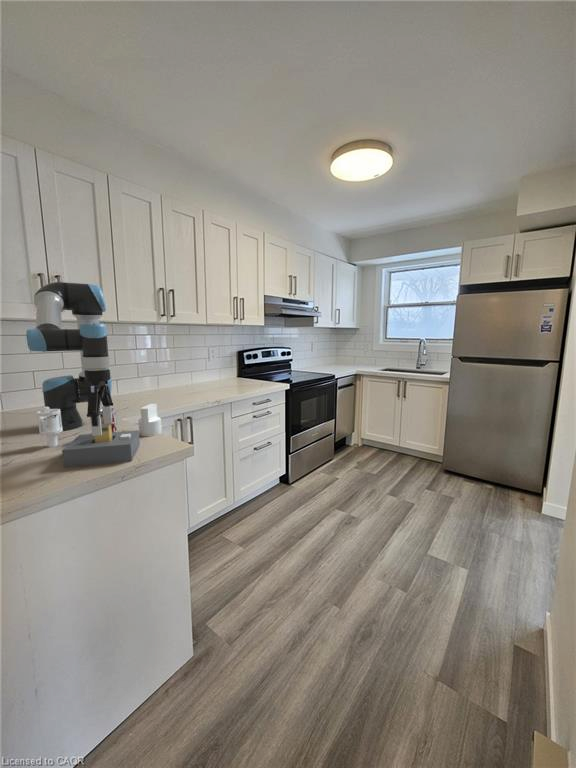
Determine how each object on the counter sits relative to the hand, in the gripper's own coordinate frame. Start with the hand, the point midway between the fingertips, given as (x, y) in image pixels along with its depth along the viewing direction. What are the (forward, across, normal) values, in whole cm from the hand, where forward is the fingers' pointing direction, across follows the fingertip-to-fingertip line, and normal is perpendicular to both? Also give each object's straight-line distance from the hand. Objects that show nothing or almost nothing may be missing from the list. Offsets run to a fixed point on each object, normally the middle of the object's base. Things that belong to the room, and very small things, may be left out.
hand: (102, 429), depth 109 cm
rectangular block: (+9, 0, 0) cm, 9 cm away
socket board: (+10, 0, 0) cm, 10 cm away
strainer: (+10, -16, -22) cm, 29 cm away
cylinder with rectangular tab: (+10, -23, +12) cm, 28 cm away
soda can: (+10, -21, -4) cm, 24 cm away
